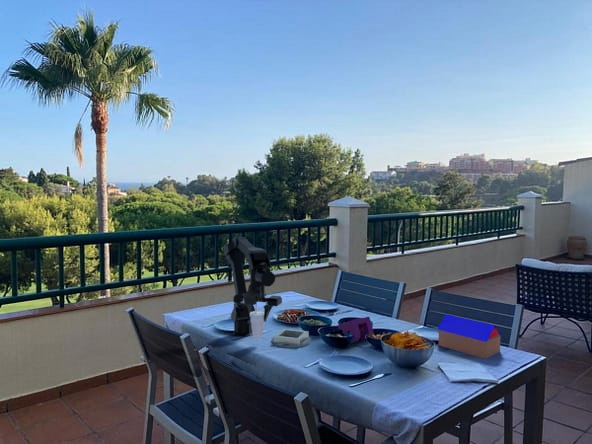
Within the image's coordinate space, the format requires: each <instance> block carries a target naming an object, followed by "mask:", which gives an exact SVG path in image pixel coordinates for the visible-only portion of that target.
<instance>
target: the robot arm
mask: <svg viewBox="0 0 592 444" xmlns="http://www.w3.org/2000/svg"><path fill="white" fill-rule="evenodd" d="M223 248H224V249H223V250H224V251H223V253H224V255H225V258H226V261H227V262H228V263H229V264H230V266H231V271H232V279H233V284H234V290H235V291H234V292H235V294H234V296H233V298H232V300H233V309H232V311H231V313H230V319H231V321H233V324H234V325H233V329H234V331H233V333H232V335H233V336H239V337H247V336H249V335H250V334H251V333H252V325H251V317H250V316H249V315H250V312H253V311H255V304H256V303H257V304H258V303H265V304H264V305H263V308H264V311H263V312H264V323H266V322H267V321H268V318H269V316H270V313H271V310H272V309H273V307H278V306H280V305H282V303H283V298H282V296H280V295H271V296H269V297H266V296H267V294H266V287H271V286H273V284H274V283H275V281H276V276H275V274H274V272H273V271H271V268H272V262H271V259H270V257H269V255H268V253H267V251H266V249H264V248H261V247H256V246H254V245H253V244H252V243H251V242H250V241H249V240H248V239H247V238H246V237H243V236H242V237H235V238H234V239H232V241H230V242H228V243H227V244H226V245H225V247H223ZM245 256H246V261H247V263H248V269H249V285H248V289H247V285H246V279H245V272H244V268H243V267H244V266H243V261H244V258H245ZM252 334H253V333H252Z"/></svg>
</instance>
